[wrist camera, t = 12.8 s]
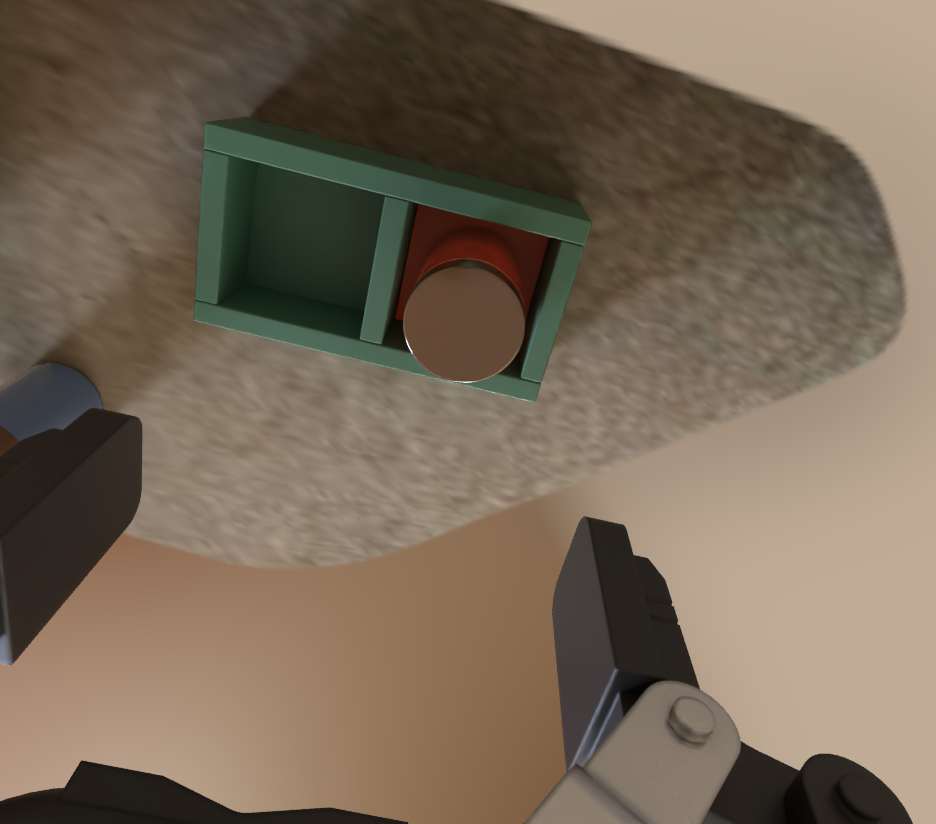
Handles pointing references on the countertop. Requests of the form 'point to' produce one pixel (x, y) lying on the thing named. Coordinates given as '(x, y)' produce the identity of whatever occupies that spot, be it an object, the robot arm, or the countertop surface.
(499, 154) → the countertop surface
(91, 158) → the countertop surface
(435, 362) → the red pot
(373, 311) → the caddy
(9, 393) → the blue and brown cylinder
